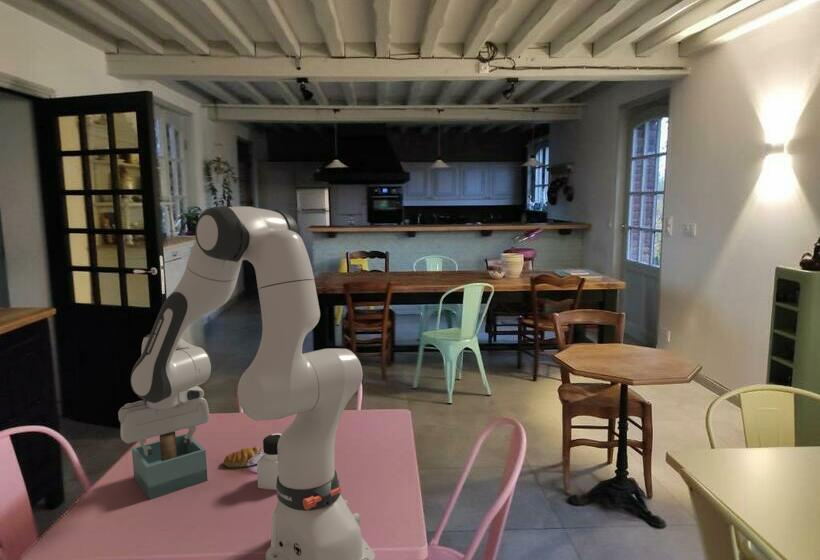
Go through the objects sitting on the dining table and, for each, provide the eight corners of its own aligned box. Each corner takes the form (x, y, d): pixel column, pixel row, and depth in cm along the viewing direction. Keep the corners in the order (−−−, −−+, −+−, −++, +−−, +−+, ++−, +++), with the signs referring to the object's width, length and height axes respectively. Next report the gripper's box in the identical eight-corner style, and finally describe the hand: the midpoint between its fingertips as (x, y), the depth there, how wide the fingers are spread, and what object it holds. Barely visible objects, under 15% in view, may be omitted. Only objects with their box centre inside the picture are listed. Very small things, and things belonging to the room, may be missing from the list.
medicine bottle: (285, 491, 129) (282, 444, 127) (257, 488, 130) (255, 441, 129) (297, 477, 136) (295, 431, 134) (270, 474, 137) (268, 429, 136)
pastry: (224, 472, 139) (223, 458, 139) (223, 461, 146) (222, 447, 145) (261, 465, 143) (261, 451, 142) (258, 454, 149) (258, 441, 148)
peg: (180, 479, 135) (177, 434, 134) (165, 484, 133) (161, 438, 131) (175, 474, 138) (172, 429, 136) (161, 478, 136) (157, 433, 134)
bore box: (207, 480, 135) (205, 450, 134) (149, 499, 126) (146, 467, 125) (189, 461, 145) (187, 433, 144) (134, 478, 136) (131, 447, 135)
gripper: (120, 409, 123) (125, 466, 125) (210, 389, 136) (213, 441, 138) (114, 402, 128) (119, 457, 130) (201, 383, 141) (204, 433, 143)
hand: (168, 448), depth 134 cm, fingers open, 8 cm apart
